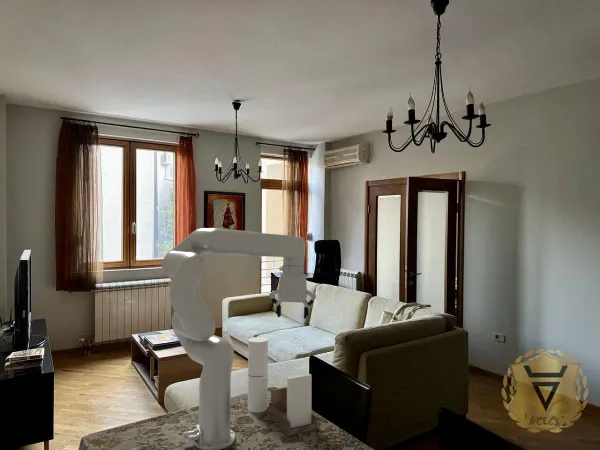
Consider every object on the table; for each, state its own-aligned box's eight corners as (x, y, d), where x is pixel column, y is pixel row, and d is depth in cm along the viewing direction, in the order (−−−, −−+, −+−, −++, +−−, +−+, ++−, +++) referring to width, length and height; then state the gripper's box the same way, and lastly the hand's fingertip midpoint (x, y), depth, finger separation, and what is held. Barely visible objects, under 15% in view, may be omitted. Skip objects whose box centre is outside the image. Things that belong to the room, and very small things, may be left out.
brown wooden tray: (288, 435, 127) (288, 408, 127) (268, 414, 141) (268, 390, 142) (317, 428, 131) (317, 402, 131) (295, 409, 146) (295, 385, 146)
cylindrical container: (245, 406, 148) (245, 338, 149) (263, 402, 151) (264, 336, 152) (251, 413, 142) (251, 343, 143) (270, 410, 145) (270, 340, 146)
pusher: (288, 428, 129) (288, 378, 130) (286, 427, 130) (287, 377, 131) (311, 423, 133) (311, 374, 133) (309, 422, 134) (309, 373, 134)
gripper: (268, 270, 144) (266, 318, 143) (316, 271, 142) (314, 320, 141) (272, 268, 151) (270, 314, 151) (317, 270, 149) (316, 316, 149)
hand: (292, 317), depth 146 cm, fingers open, 9 cm apart
